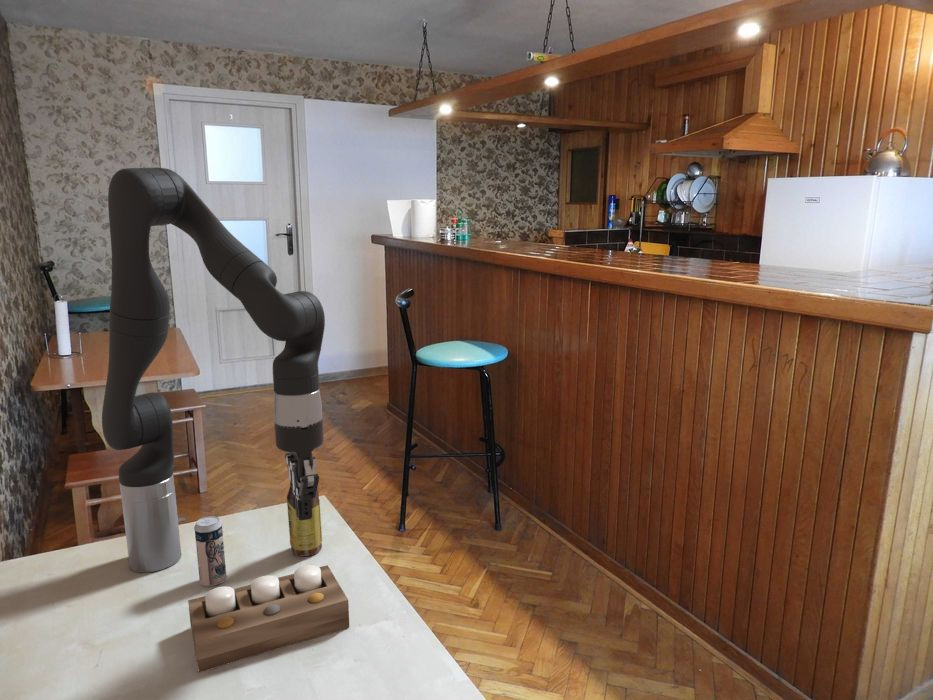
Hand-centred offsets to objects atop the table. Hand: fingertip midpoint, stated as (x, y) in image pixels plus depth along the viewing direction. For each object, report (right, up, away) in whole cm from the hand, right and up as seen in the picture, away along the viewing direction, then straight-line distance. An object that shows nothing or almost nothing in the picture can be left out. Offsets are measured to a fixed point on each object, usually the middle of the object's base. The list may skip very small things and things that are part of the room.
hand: (304, 517), depth 108 cm
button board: (-5, -18, -1) cm, 18 cm away
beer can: (-20, -15, +12) cm, 28 cm away
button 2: (-6, -13, -1) cm, 15 cm away
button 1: (-12, -14, -4) cm, 19 cm away
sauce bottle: (-5, -13, +23) cm, 27 cm away
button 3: (0, -13, +3) cm, 13 cm away
